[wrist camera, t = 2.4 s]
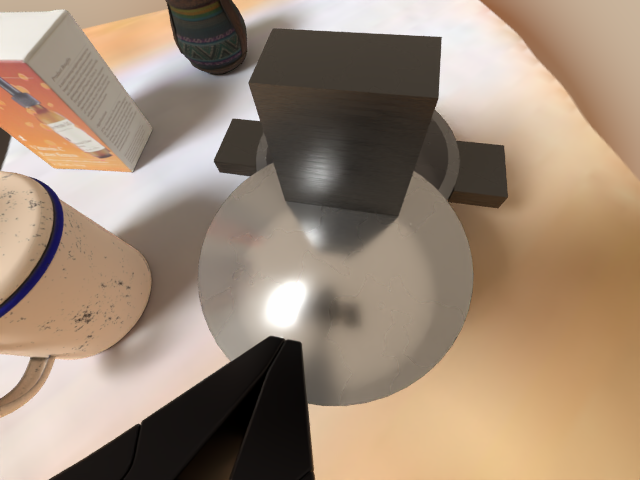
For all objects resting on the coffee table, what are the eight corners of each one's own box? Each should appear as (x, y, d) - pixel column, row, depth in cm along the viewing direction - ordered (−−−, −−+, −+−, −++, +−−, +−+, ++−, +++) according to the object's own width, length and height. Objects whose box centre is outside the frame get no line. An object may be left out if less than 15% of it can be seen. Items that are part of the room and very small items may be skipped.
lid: (463, 439, 12) (661, 528, 5) (166, 367, 14) (-34, 349, 6) (463, 175, 17) (553, 23, 10) (250, 151, 19) (194, 8, 12)
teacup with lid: (55, 247, 24) (-167, 141, 14) (165, 236, 24) (27, 119, 13) (-5, 420, 19) (-445, 466, 8) (137, 407, 18) (-131, 438, 8)
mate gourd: (262, 43, 34) (234, -77, 25) (239, 89, 31) (198, -30, 22) (205, 38, 35) (158, -79, 26) (178, 81, 32) (114, -34, 23)
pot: (474, 295, 20) (517, 266, 15) (218, 251, 23) (184, 214, 18) (471, 148, 25) (503, 92, 21) (265, 127, 28) (249, 73, 23)
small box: (54, 170, 28) (-94, 59, 18) (81, 126, 30) (-38, 8, 21) (134, 174, 27) (21, 60, 17) (155, 128, 29) (66, 6, 20)
